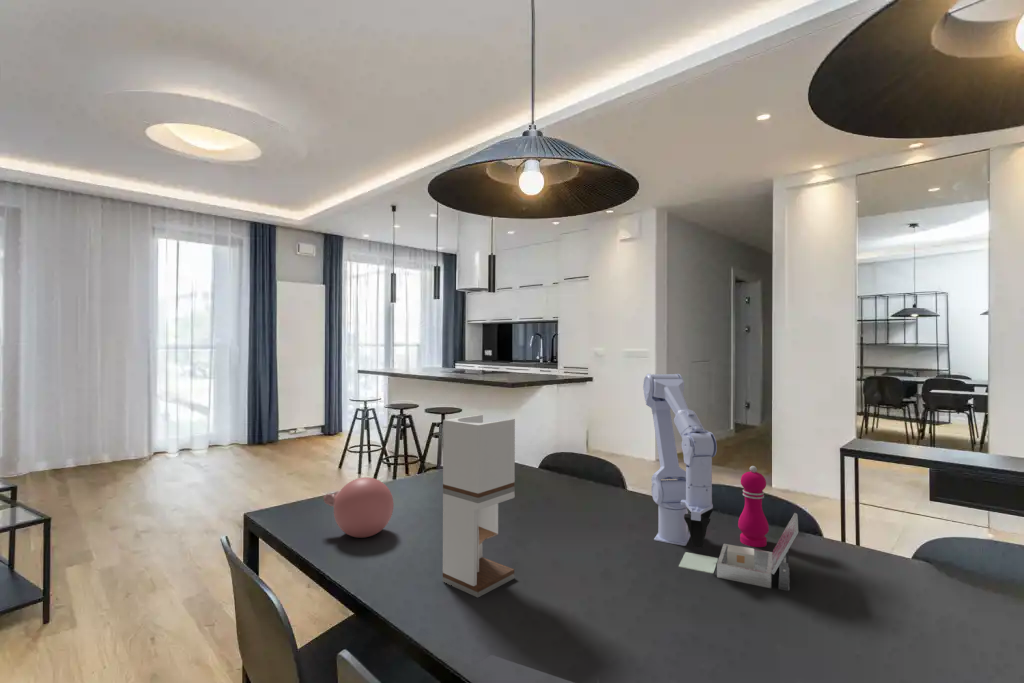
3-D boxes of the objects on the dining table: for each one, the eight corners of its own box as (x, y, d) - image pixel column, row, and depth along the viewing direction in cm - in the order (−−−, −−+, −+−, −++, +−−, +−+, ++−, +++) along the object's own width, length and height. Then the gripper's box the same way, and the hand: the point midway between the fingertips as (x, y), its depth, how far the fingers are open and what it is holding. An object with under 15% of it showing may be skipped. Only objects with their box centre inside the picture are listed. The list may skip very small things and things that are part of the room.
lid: (794, 512, 117) (797, 514, 116) (772, 550, 119) (775, 552, 118) (795, 530, 105) (798, 532, 105) (770, 572, 107) (773, 574, 107)
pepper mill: (772, 549, 128) (772, 470, 128) (741, 547, 129) (741, 468, 130) (764, 539, 135) (764, 463, 135) (735, 536, 137) (735, 462, 137)
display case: (477, 598, 103) (478, 425, 103) (442, 582, 110) (443, 420, 110) (514, 578, 112) (514, 419, 112) (479, 564, 119) (480, 414, 119)
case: (723, 556, 124) (723, 536, 124) (789, 569, 117) (789, 547, 117) (717, 578, 112) (717, 555, 112) (789, 593, 106) (789, 569, 106)
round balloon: (342, 521, 148) (342, 468, 148) (403, 529, 142) (404, 473, 142) (306, 541, 133) (306, 481, 133) (373, 550, 127) (373, 488, 127)
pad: (685, 553, 125) (685, 551, 125) (718, 559, 122) (718, 558, 122) (678, 567, 118) (678, 565, 118) (713, 574, 114) (713, 572, 114)
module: (728, 563, 119) (728, 544, 119) (754, 568, 117) (754, 548, 117) (727, 571, 115) (727, 551, 115) (754, 575, 113) (754, 555, 113)
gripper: (684, 475, 128) (684, 529, 128) (676, 489, 115) (676, 550, 115) (714, 478, 125) (714, 533, 125) (710, 493, 112) (710, 555, 112)
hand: (698, 542), depth 120 cm, fingers open, 5 cm apart
